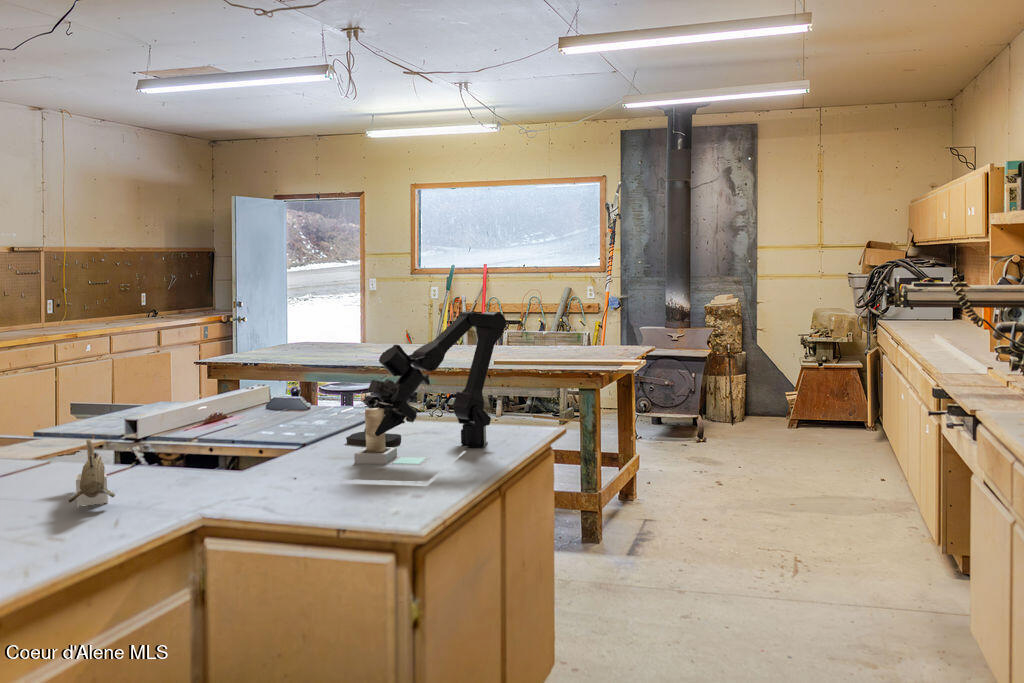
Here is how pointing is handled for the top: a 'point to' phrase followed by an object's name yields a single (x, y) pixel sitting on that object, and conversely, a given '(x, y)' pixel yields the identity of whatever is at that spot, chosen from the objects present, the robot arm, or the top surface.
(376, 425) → the maple post
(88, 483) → the wood carving
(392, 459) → the jig board
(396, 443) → the black sponge
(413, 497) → the top surface
